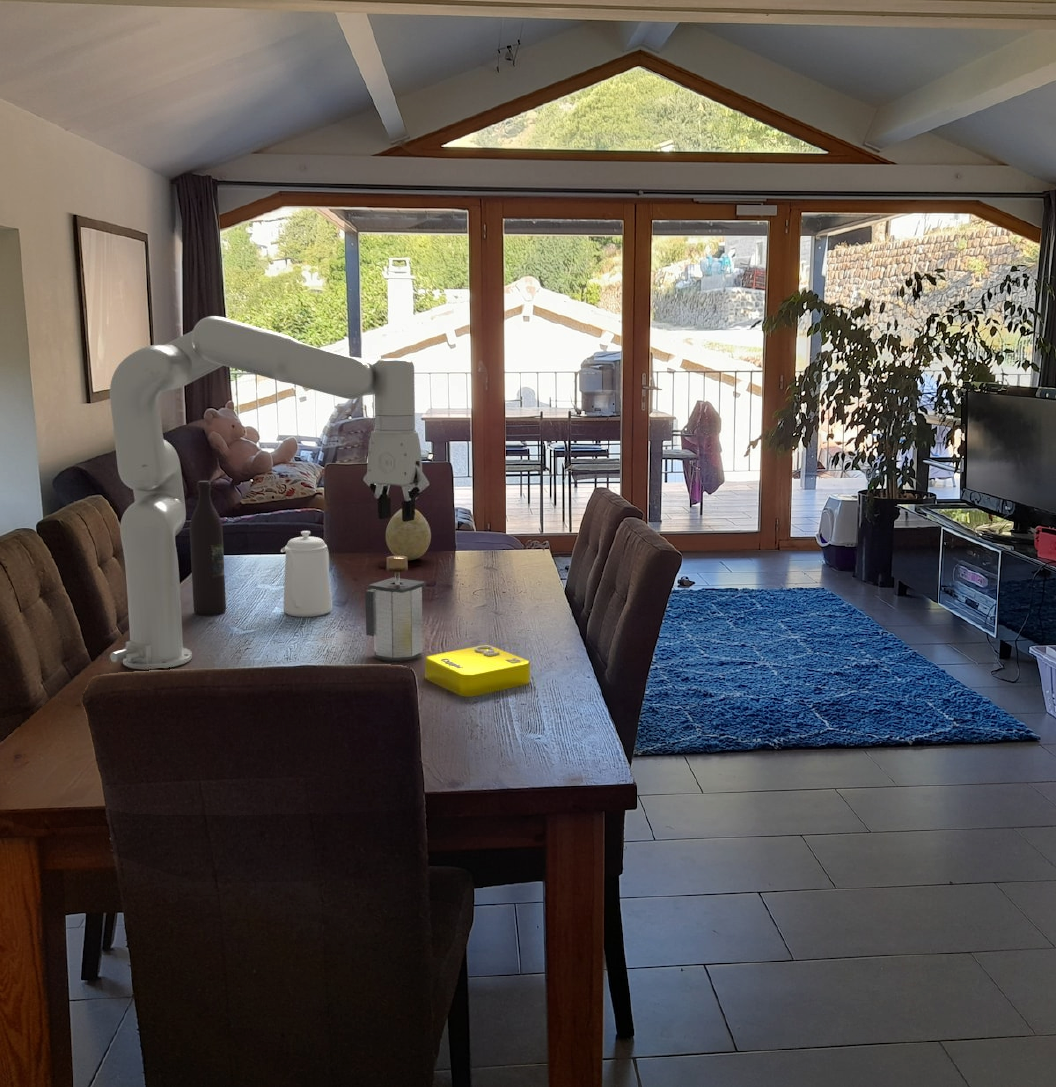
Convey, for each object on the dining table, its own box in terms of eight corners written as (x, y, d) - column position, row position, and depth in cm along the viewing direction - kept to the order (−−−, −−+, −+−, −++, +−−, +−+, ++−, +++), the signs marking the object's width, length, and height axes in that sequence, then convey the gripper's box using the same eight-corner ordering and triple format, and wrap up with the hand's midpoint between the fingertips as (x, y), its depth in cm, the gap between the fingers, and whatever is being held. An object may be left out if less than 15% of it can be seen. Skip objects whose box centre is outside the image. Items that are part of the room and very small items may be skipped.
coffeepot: (260, 625, 235) (257, 540, 232) (306, 598, 260) (304, 521, 256) (307, 627, 233) (305, 542, 230) (349, 601, 257) (347, 523, 254)
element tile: (420, 678, 200) (420, 653, 199) (487, 665, 209) (487, 641, 208) (465, 700, 188) (465, 673, 187) (534, 684, 197) (534, 659, 196)
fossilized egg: (414, 553, 316) (414, 502, 313) (439, 560, 306) (439, 508, 303) (377, 558, 308) (376, 506, 305) (402, 566, 298) (401, 512, 296)
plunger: (402, 636, 208) (401, 562, 205) (374, 631, 211) (372, 558, 208) (421, 628, 213) (420, 556, 211) (394, 624, 217) (393, 553, 214)
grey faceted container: (404, 665, 207) (403, 590, 204) (355, 656, 212) (353, 583, 210) (430, 653, 215) (430, 581, 212) (383, 645, 220) (382, 575, 218)
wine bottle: (216, 617, 242) (210, 483, 236) (187, 615, 243) (181, 482, 238) (231, 609, 249) (226, 479, 243) (203, 608, 250) (197, 478, 244)
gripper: (346, 423, 206) (348, 518, 209) (421, 427, 198) (422, 526, 201) (370, 421, 212) (372, 513, 215) (443, 425, 204) (444, 520, 207)
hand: (396, 518), depth 208 cm, fingers open, 4 cm apart
